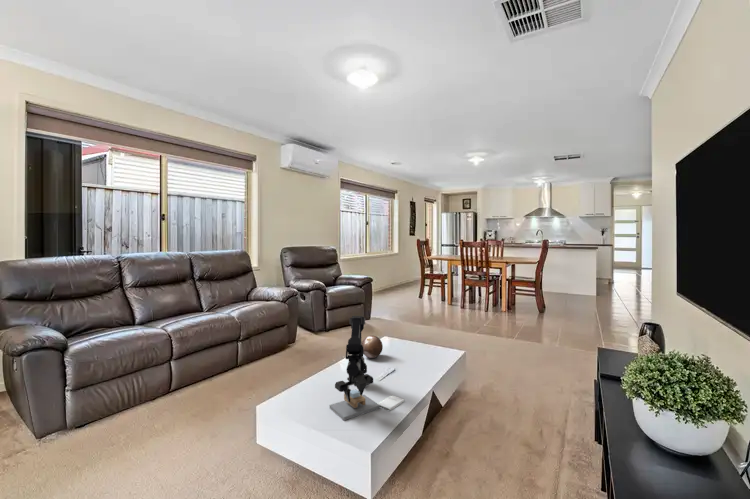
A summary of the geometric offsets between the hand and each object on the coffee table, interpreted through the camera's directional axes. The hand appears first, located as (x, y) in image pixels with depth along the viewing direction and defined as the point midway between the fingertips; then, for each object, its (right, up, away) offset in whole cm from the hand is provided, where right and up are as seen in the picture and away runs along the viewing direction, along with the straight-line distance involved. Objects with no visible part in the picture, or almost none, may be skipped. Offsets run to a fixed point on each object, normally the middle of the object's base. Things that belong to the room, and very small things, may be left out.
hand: (354, 399), depth 167 cm
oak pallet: (0, -1, 0) cm, 1 cm away
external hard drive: (+18, -5, +5) cm, 19 cm away
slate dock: (0, -4, 0) cm, 4 cm away
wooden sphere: (+8, -2, +72) cm, 72 cm away
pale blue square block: (0, +2, 0) cm, 2 cm away
